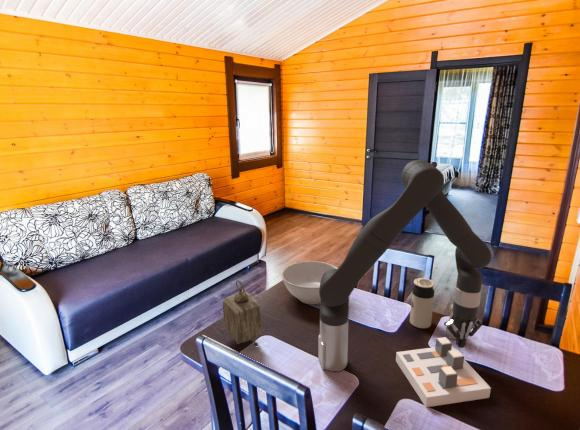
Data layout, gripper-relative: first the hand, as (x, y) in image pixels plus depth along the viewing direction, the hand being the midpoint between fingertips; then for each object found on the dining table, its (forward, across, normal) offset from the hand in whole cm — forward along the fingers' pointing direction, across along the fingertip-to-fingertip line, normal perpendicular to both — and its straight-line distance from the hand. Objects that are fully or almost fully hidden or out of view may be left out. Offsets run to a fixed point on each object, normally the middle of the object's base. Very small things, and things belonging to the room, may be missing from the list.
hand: (460, 346), depth 120 cm
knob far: (+1, -6, 0) cm, 6 cm away
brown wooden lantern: (+6, -72, +24) cm, 76 cm away
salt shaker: (+6, +6, +12) cm, 15 cm away
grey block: (+1, -13, -13) cm, 18 cm away
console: (+5, -11, -7) cm, 14 cm away
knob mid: (+1, -6, -7) cm, 9 cm away
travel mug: (+6, -2, +22) cm, 23 cm away
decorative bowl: (+6, -40, +50) cm, 65 cm away
